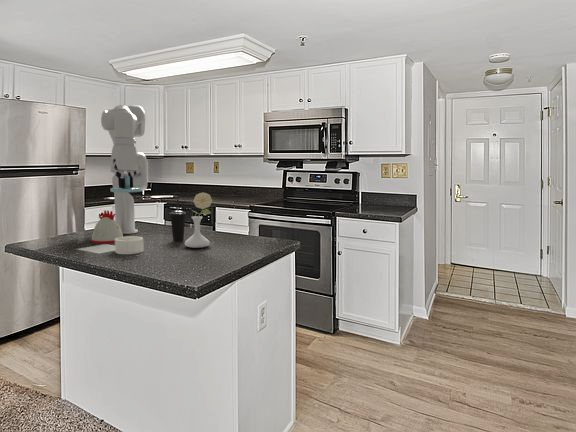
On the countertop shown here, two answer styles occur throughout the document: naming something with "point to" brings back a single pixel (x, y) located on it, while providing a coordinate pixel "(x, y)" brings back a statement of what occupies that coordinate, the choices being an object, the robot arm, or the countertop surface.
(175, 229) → the drinking cup
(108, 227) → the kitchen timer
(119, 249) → the bowl
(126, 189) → the lid
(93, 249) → the mat
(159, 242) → the countertop surface
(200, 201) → the flower in vase
